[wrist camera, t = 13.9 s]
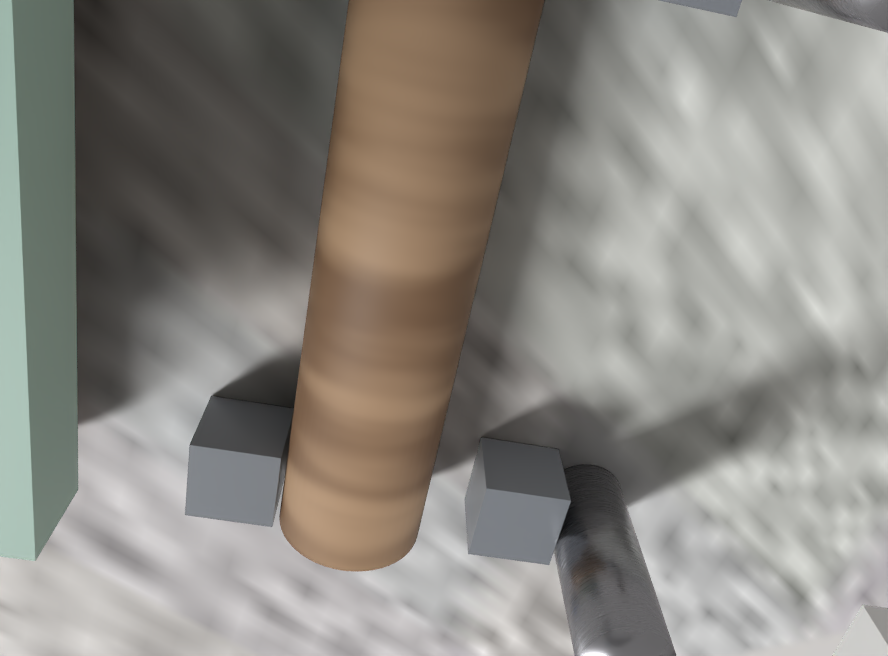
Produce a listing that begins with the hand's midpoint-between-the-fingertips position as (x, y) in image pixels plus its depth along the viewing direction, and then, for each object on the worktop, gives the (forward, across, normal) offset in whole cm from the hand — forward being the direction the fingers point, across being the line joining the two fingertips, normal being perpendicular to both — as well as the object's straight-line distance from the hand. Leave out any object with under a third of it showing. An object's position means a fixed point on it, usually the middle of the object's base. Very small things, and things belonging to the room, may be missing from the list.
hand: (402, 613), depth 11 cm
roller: (+17, 0, 0) cm, 17 cm away
